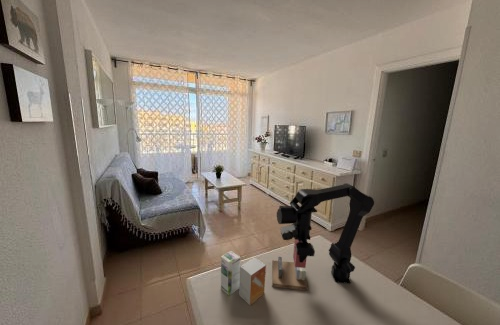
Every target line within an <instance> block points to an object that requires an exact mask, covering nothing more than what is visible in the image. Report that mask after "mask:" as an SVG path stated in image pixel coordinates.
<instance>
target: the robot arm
mask: <svg viewBox="0 0 500 325" xmlns="http://www.w3.org/2000/svg"><path fill="white" fill-rule="evenodd" d="M344 197H348V198H349V203H348V204H349V214H348V216H347V219H346V221H345V224H344V226H343V229H342V231H341V233H340V237H339V239H338V241H337V242H335V243H334V242H332V243H331V244H330V247H329V249H328V255H329V257H330V258H331V260H332V261H333V264H332V265H331V271H330V274H331V276H332V278H333V280H334V282H335V283H341V284H352V281H351V280H350V278H351V276H350V275H351V273H352V272H354V271H355V269H356V266H355V265H354V264H353V263H352V262H351V259H352V250H351V248H352V244H353V242H354V241H355V237H356V235H357V232H358V230H359V228H360V225H361V223H362V220H363V218H364V216H366V215H368V214H369V213H370V212H371V211H372V209H373V208H374V205H375V200H374V198H373V197H372V196H370V195H368V194H366V193H364V192H362V191H361V190H359V189H357V188H356V187H355V186H354V185H352V184H350V183H343V184H339V185H336V186H331V187H330V186H329V187H325V188H321V189H313V188H312V189H311V188H302V189H298V191H297V192H296V195H295V196H294V197H293V198H292V200H291V201H290V202H289V205H279V208H278V209H277V211H276V219H277V220H276V221H277V222H278V224H279V225H285V226H281V227H280V228H279V230H280V234H281V235H280V236H281V239H282V240H283V241H290V240H292V239H294V240H295V239H296V240H298V241H301V242H298V243H297V244H296V247H295V249H296V252H297V255H299V261H300V262H303V261H304V260H305V259H306V260H307V258H308V257H315V252H316V250H315V247H314V246H313V244H312V243H311V242H308V241H310V240H311V236H310V234H311V233H310V231H312V226H311V223H312V222H311V221H312V213H318V209H316V208H315V207H317V206H318V205H320V204H321V203H323V202H327V201H331V200H335V199H341V198H344ZM299 204H300V205H299ZM287 224H288V225H287ZM306 257H307V258H306Z"/></svg>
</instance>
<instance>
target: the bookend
mask: <svg viewBox="0 0 500 325" xmlns="http://www.w3.org/2000/svg"><path fill="white" fill-rule="evenodd" d="M277 258H278V259H277V261H278V278H279V279H282V271H283V268H282V261H283V257H282V256H278V257H277Z"/></svg>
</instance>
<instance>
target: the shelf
mask: <svg viewBox="0 0 500 325" xmlns="http://www.w3.org/2000/svg"><path fill="white" fill-rule="evenodd" d="M271 262H272V264H271V280H272V282H271V283H272V284H271V285H272V286H271V287H273V288H274V287H275V288H281V289H282V288H283V289H293V290H301V291H302V290H304V291H307V290H308V285H307V284H308V282H307V279H306V278H305V280H302V279H299V280H297V279H296V274H295V264H294V261H284V260H282V268H283V271H282V279H279V278H278V260H274V259H273V260H272V261H271Z"/></svg>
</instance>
